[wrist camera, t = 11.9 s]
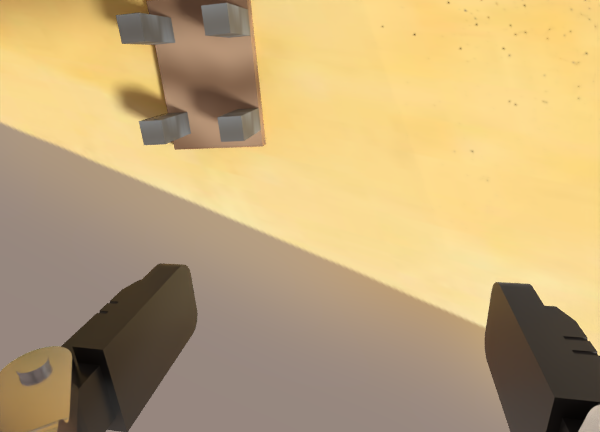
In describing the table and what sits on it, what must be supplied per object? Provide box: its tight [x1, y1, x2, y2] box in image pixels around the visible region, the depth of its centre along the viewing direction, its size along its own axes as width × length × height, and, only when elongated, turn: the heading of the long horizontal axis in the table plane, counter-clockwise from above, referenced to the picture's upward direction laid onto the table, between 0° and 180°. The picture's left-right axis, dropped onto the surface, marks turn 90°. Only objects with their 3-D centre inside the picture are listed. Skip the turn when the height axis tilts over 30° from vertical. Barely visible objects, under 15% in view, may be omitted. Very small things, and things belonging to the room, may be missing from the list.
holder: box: [116, 0, 266, 149], centre depth 34 cm, size 13×9×6 cm
